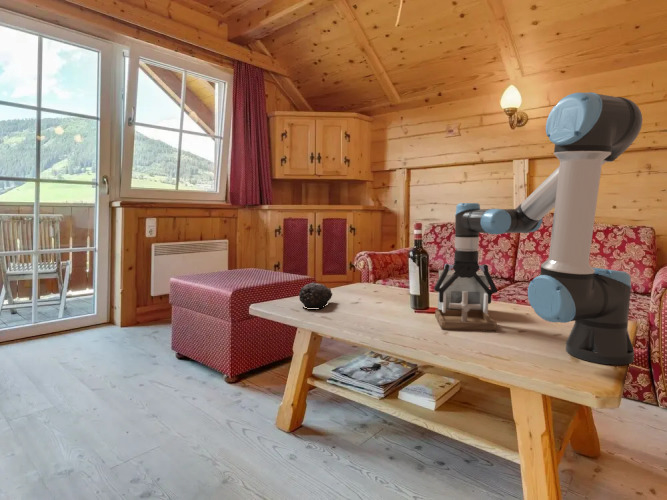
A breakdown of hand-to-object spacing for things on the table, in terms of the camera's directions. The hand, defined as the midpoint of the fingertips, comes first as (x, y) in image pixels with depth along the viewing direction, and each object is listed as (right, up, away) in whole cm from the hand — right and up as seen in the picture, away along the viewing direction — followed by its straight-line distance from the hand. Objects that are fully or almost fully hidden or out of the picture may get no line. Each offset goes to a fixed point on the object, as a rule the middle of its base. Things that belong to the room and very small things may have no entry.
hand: (464, 312), depth 139 cm
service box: (+4, -2, +15) cm, 16 cm away
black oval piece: (-51, -2, +26) cm, 57 cm away
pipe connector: (0, -3, 0) cm, 3 cm away
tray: (0, -4, 0) cm, 4 cm away
